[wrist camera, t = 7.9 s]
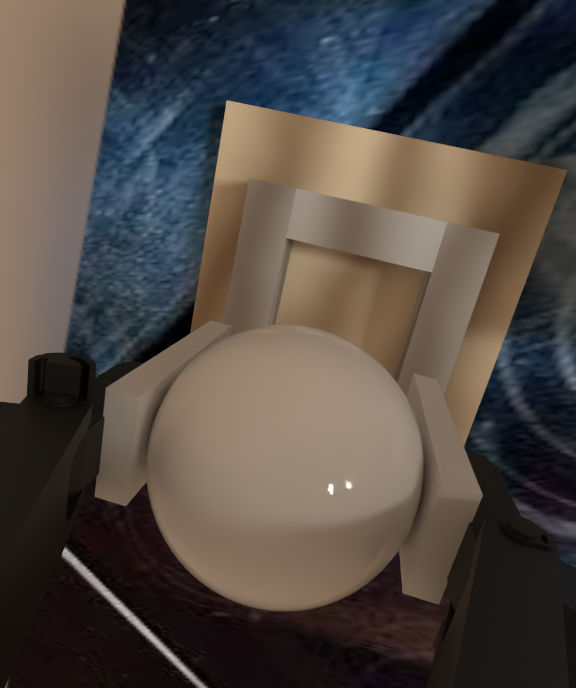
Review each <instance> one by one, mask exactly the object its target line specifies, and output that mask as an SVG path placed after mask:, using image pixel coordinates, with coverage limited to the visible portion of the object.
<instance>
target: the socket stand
mask: <svg viewBox="0 0 576 688" xmlns="http://www.w3.org/2000/svg"><path fill="white" fill-rule="evenodd" d="M566 173H567V170H566V169H561V168H556V167H551V166H546V165H541V164H536V163H531V162H526V161H521V160H517V159H512V158H507V157H502V156H497V155H492V154H487V153H482V152H477V151H472V150H468V149H463V148H458V147H453V146H448V145H443V144H438V143H433V142H428V141H423V140H418V139H414V138H409V137H404V136H399V135H394V134H389V133H384V132H379V131H374V130H369V129H365V128H360V127H355V126H350V125H345V124H340V123H335V122H330V121H325V120H320V119H315V118H311V117H306V116H301V115H296V114H291V113H286V112H281V111H276V110H271V109H266V108H262V107H257V106H252V105H247V104H242V103H237V102H232V101H227V102H226V109H225V115H224V121H223V128H222V134H221V141H220V147H219V153H218V160H217V166H216V172H215V179H214V185H213V192H212V198H211V204H210V211H209V217H208V223H207V230H206V236H205V243H204V249H203V255H202V262H201V268H200V274H199V281H198V287H197V294H196V300H195V306H194V313H193V319H192V325H191V332H190V334H191V333H192V332H194V331H195V330H197V329H198V328H200V327H201V326H203V325H205V324H206V323H208V322H209V321H215V322H219V323H222V324H226V325H230V326H232V327H231V332H230V336H232V335H234V334H236V333H239V332H242V331H245V330H248V329H252V328H256V327H261V326H268V325H278V324H293V325H304V326H310V327H315V328H319V329H323V330H326V331H329V332H332V333H334V334H337V335H339V336H341V337H344V338H346V339H348V340H350V341H351V342H353V343H355V344H356V345H358V346H360V347H361V348H363V349H364V350H365V351H367V352H368V353H369V354H371V355H372V356H373V357H374V358H375V359H376V360H378V361H379V362H380V363H381V364H382V365H383V366H384V367H385V368H386V369H387V371H388V372H389V373H390V374H391V375H392V377H393V378H394V379H395V380H396V382H397V383H398V385H399V386H400V388H401V389H402V391H403V392H404V394H405V396H406V397H407V394H408V391H409V387H410V384H411V381H412V378H413V375H414V374H418V375H422V376H425V377H429V378H433V379H437V381H438V383H439V386H440V388H441V391H442V393H443V396H444V398H445V401H446V403H447V406H448V409H449V411H450V414H451V416H452V419H453V421H454V424H455V426H456V429H457V431H458V434H459V436H460V439H461V441H462V444H463V446H464V445H465V442H466V439H467V437H468V434H469V431H470V429H471V426H472V423H473V421H474V418H475V415H476V413H477V410H478V407H479V405H480V402H481V400H482V397H483V394H484V392H485V389H486V386H487V384H488V381H489V378H490V376H491V373H492V370H493V368H494V365H495V362H496V360H497V357H498V354H499V352H500V349H501V346H502V344H503V341H504V338H505V336H506V333H507V330H508V328H509V325H510V322H511V320H512V317H513V314H514V312H515V309H516V306H517V304H518V301H519V298H520V296H521V293H522V290H523V288H524V285H525V282H526V280H527V277H528V274H529V272H530V269H531V266H532V264H533V261H534V258H535V256H536V253H537V250H538V248H539V245H540V242H541V240H542V237H543V234H544V232H545V229H546V226H547V224H548V221H549V218H550V216H551V213H552V210H553V208H554V205H555V202H556V200H557V197H558V194H559V192H560V189H561V186H562V184H563V181H564V178H565V176H566Z"/></svg>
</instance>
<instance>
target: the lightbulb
mask: <svg viewBox="0 0 576 688" xmlns="http://www.w3.org/2000/svg"><path fill="white" fill-rule="evenodd" d="M146 479H147V489H148V495H149V500H150V504H151V508H152V511H153V515H154V517H155V520H156V523H157V525H158V528H159V530H160V532H161V534H162V536H163V538H164V540H165V541H166V543H167V545H168V546H169V548H170V549H171V551H172V552H173V554H174V555H175V556H176V558H177V559H178V560H179V561H180V563H181V564H182V565H183V566H184V567H185V568H186V569H187V570H188V571H189V572H190V573H191V574H192V575H193V576H194V577H195V578H196V579H197V580H199V581H200V582H201V583H202V584H204V585H205V586H206V587H208V588H209V589H211V590H212V591H214V592H216V593H217V594H219V595H221V596H223V597H225V598H227V599H229V600H231V601H234V602H236V603H239V604H242V605H245V606H248V607H252V608H256V609H261V610H268V611H281V612H290V611H302V610H308V609H314V608H318V607H321V606H325V605H328V604H331V603H334V602H336V601H339V600H341V599H343V598H345V597H347V596H349V595H351V594H353V593H354V592H356V591H357V590H359V589H361V588H362V587H364V586H365V585H366V584H368V583H369V582H370V581H371V580H373V579H374V578H375V577H376V576H377V575H378V574H379V573H380V572H381V571H382V570H383V569H384V568H385V567H386V566H387V565H388V564H389V563H390V561H391V560H392V559H393V558H394V556H395V555H396V554H397V552H398V551H399V549H400V548H401V546H402V544H403V543H404V541H405V539H406V538H407V536H408V534H409V532H410V529H411V527H412V525H413V523H414V520H415V517H416V514H417V511H418V508H419V504H420V500H421V495H422V488H423V480H424V454H423V446H422V440H421V435H420V431H419V427H418V424H417V421H416V418H415V415H414V413H413V410H412V408H411V406H410V404H409V402H408V400H407V398H406V396H405V394H404V392H403V391H402V389H401V388H400V386H399V385H398V383H397V382H396V380H395V379H394V378H393V377H392V375H391V374H390V373H389V372H388V371H387V369H386V368H385V367H384V366H383V365H382V364H381V363H380V362H379V361H378V360H376V359H375V358H374V357H373V356H372V355H371V354H369V353H368V352H367V351H365V350H364V349H363V348H361V347H360V346H358V345H356V344H355V343H353V342H351V341H350V340H348V339H346V338H344V337H341V336H339V335H337V334H334V333H332V332H329V331H326V330H323V329H319V328H315V327H310V326H304V325H293V324H278V325H268V326H261V327H256V328H252V329H248V330H245V331H242V332H239V333H236V334H234V335H232V336H229V337H227V338H225V339H223V340H221V341H219V342H218V343H216V344H214V345H213V346H211V347H210V348H208V349H207V350H205V351H204V352H203V353H201V354H200V355H199V356H198V357H196V358H195V359H194V360H193V361H192V362H191V363H190V364H189V365H188V366H187V367H186V368H185V369H184V370H183V371H182V372H181V374H180V375H179V376H178V377H177V379H176V380H175V381H174V383H173V384H172V386H171V387H170V389H169V390H168V392H167V394H166V395H165V397H164V399H163V401H162V403H161V405H160V407H159V409H158V412H157V414H156V417H155V419H154V422H153V426H152V429H151V433H150V437H149V442H148V448H147V458H146Z"/></svg>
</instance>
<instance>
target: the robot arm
mask: <svg viewBox="0 0 576 688" xmlns="http://www.w3.org/2000/svg"><path fill="white" fill-rule="evenodd" d="M231 327H232V326H230V325H226V324H222V323H219V322H215V321H209V322H208V323H206V324H205V325H203V326H201V327H200V328H198V329H197V330H195V331H194V332H192V333H191V334H189V335H187V336H186V337H184V338H183V339H181V340H180V341H178V342H177V343H175V344H173V345H172V346H170V347H169V348H167V349H166V350H164V351H163V352H161V353H159V354H158V355H156V356H155V357H153V358H152V359H150V360H148V361H147V362H145V363H140V362H136V361H131V362H127V363H122V364H118V365H116V366H114V367H113V368H111V369H109V370H107V372H104V373H102V374H101V375H99V376H98V377H97V378H96V377H95V373H96V363H95V362H94V361H93V360H91V359H89V358H87V357H85V356H81V355H77V354H72V353H46V354H42V355H37V356H35V357H33V358H31V359H29V363H28V364H29V365H28V385H27V397H25V398H24V399H23V401H22V402H21V403H20V404H16V403H7V402H0V688H5V686H6V683H7V681H8V679H9V676H10V674H11V672H12V669H13V667H14V665H15V662H16V660H17V658H18V655H19V653H20V651H21V648H22V646H23V644H24V641H25V639H26V637H27V634H28V632H29V629H30V627H31V625H32V622H33V620H34V618H35V615H36V613H37V611H38V608H39V606H40V604H41V601H42V599H43V597H44V594H45V592H46V590H47V587H48V585H49V583H50V580H51V578H52V576H53V573H54V571H55V569H56V566H57V564H58V562H59V559H60V557H61V555H62V552H63V550H64V548H65V545H66V543H67V541H68V538H69V536H70V534H71V531H72V529H73V527H74V524H75V522H76V520H77V517H78V515H79V513H80V510H81V508H82V506H83V500H84V489H85V486H86V485H87V484H88V483H89V482H90V481H91V480H92V479H93V478H94V477H96V476H97V479H96V489H95V497H98V498H101V499H104V500H107V501H110V502H114V503H117V504H120V505H123V506H126V505H127V504H128V503H129V502H130V501H131V499H132V498H133V497H134V496H135V495H136V494H137V492H138V491H139V490H140V489H141V488H142V486H143V485H144V484H145V483H146V482H147V479H146V458H147V448H148V442H149V437H150V433H151V429H152V426H153V422H154V419H155V417H156V414H157V412H158V409H159V407H160V405H161V403H162V401H163V399H164V397H165V395H166V394H167V392H168V390H169V389H170V387H171V386H172V384H173V383H174V381H175V380H176V379H177V377H178V376H179V375H180V374H181V372H182V371H183V370H184V369H185V368H186V367H187V366H188V365H189V364H190V363H191V362H192V361H193V360H194V359H195V358H196V357H198V356H199V355H200V354H201V353H203V352H204V351H205V350H207V349H208V348H210V347H211V346H213V345H214V344H216V343H218V342H219V341H221V340H223V339H225V338H227V337H229V336H230V332H231ZM406 398H407V400H408V402H409V404H410V406H411V408H412V410H413V413H414V415H415V418H416V421H417V424H418V427H419V431H420V435H421V440H422V446H423V454H424V480H423V488H422V495H421V500H420V504H419V508H418V511H417V514H416V517H415V520H414V523H413V525H412V527H411V529H410V532H409V534H408V536H407V538H406V539H405V541H404V543H403V544H402V546H401V548H400V549H399V552H400V565H401V577H402V590H403V593H404V594H407V595H410V596H413V597H417V598H420V599H423V600H426V601H429V602H432V603H436V604H439V603H440V600H441V598H442V595H443V593H444V590H445V588H446V585H447V583H448V586H449V591H450V596H451V602H450V605H449V607H448V610H447V612H446V614H445V617H444V619H443V622H442V624H441V627H440V629H439V631H438V634H437V636H436V639H435V641H434V644H433V646H432V647H434V648H436V652H435V656H434V660H433V663H432V667H431V671H430V675H429V679H428V683H427V687H426V688H576V568H575V567H573V566H571V565H569V564H567V563H565V562H563V561H562V560H560V559H559V550H558V548H557V545H556V543H555V541H554V540H553V539H552V538H551V537H550V536H549V534H548V533H547V532H545V531H544V530H543V529H542V528H540V527H539V526H538V525H536V524H535V523H533V522H531V521H529V520H527V519H526V518H524V517H522V516H521V515H520V513H519V511H518V509H517V507H516V505H515V503H514V501H513V499H512V497H511V495H510V493H508V489H507V487H506V485H505V483H504V482H503V479H502V477H501V475H500V473H499V471H498V469H497V468H496V467H495V466H494V465H493V464H492V463H491V462H490V461H489V460H488V459H487V458H486V457H485V456H482V455H478V454H475V453H471V452H468V451H465V449H464V446H463V444H462V441H461V439H460V436H459V434H458V431H457V429H456V426H455V424H454V421H453V419H452V416H451V414H450V411H449V409H448V406H447V403H446V401H445V398H444V396H443V393H442V391H441V388H440V386H439V383H438V381H437V379H433V378H429V377H425V376H422V375H418V374H414V375H413V378H412V381H411V384H410V387H409V391H408V394H407V397H406Z"/></svg>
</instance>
